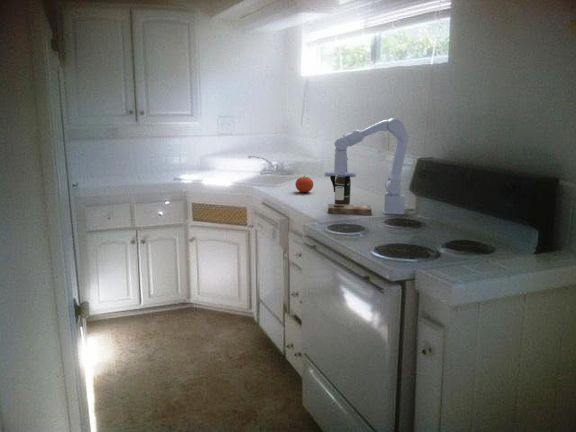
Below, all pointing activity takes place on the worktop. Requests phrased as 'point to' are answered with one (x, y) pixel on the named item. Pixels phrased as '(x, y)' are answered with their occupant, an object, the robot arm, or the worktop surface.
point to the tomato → (304, 184)
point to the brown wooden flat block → (349, 209)
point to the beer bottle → (346, 200)
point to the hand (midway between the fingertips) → (339, 192)
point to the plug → (339, 193)
